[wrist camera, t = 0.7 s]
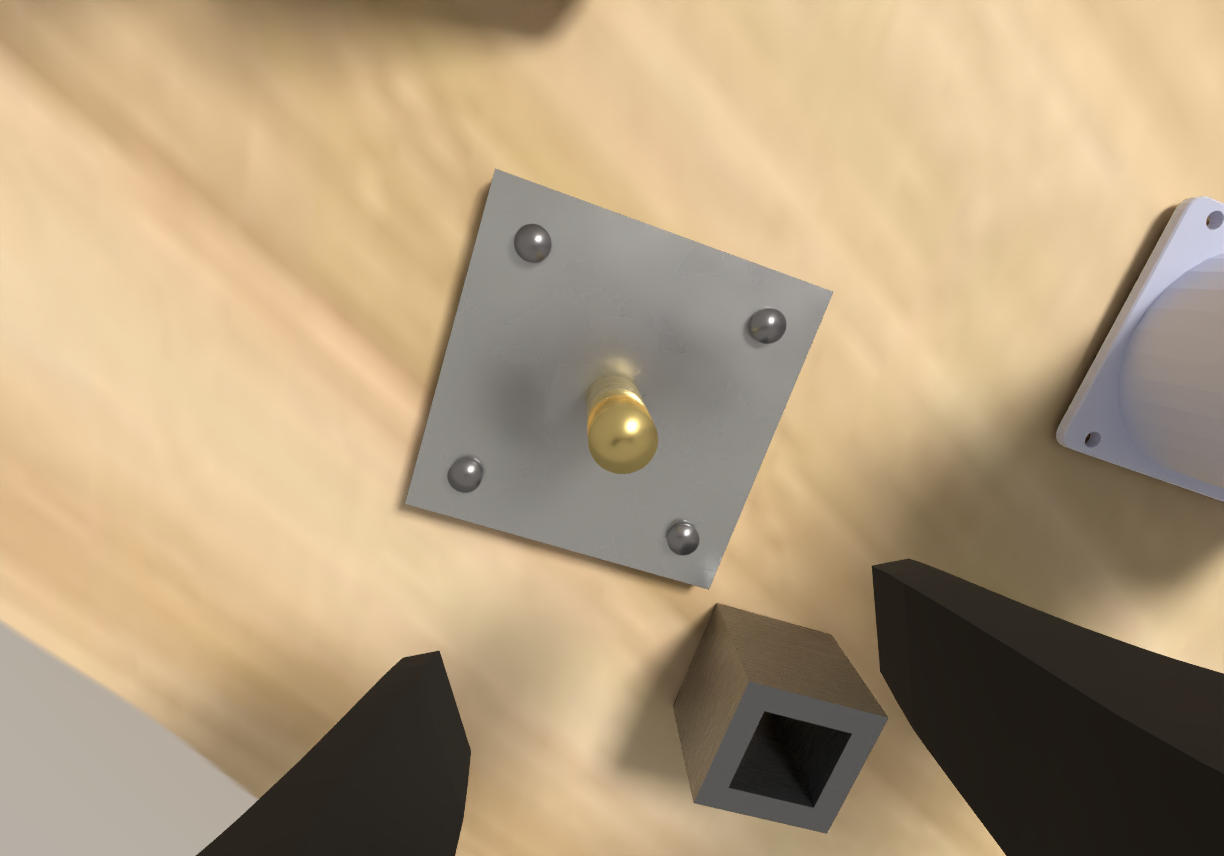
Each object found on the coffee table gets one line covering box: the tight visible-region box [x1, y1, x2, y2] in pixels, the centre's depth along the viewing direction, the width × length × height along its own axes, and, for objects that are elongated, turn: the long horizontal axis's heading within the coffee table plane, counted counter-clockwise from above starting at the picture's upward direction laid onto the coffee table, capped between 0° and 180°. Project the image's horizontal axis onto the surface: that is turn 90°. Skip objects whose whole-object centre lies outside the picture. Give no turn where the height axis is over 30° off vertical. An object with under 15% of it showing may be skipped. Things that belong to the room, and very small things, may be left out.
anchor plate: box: [405, 169, 833, 589], centre depth 16 cm, size 10×10×5 cm
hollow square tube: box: [673, 603, 888, 833], centre depth 19 cm, size 4×4×4 cm
